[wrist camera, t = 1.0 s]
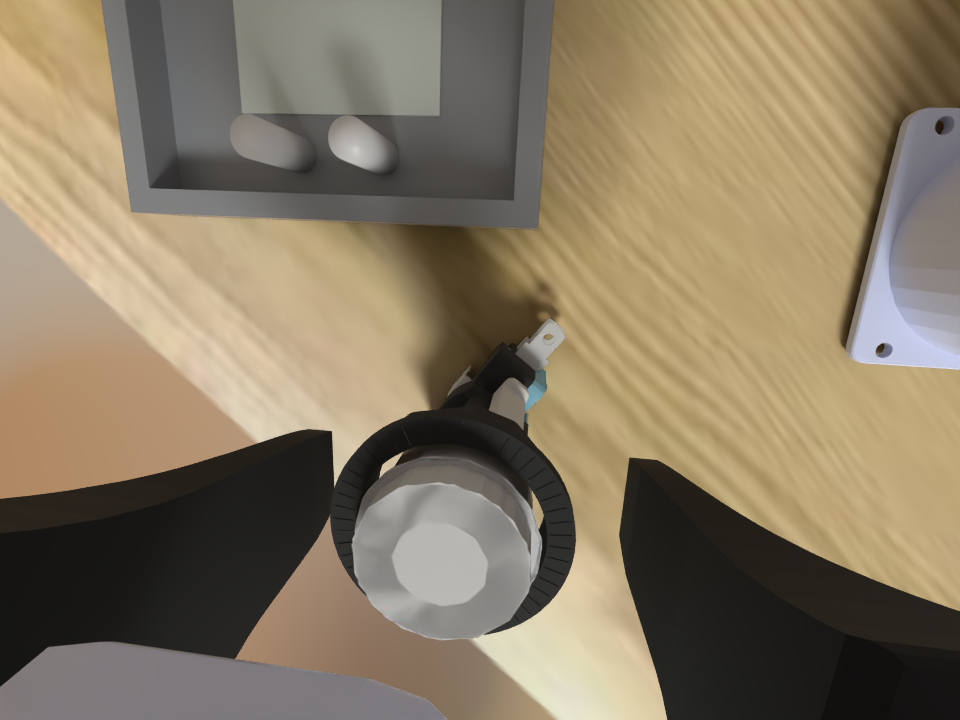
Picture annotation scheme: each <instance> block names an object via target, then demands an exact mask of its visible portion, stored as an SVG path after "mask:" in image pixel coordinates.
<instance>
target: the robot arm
mask: <svg viewBox="0 0 960 720" xmlns="http://www.w3.org/2000/svg"><path fill="white" fill-rule="evenodd" d="M938 120H941V121H942V123H943V124H944V129H943V131H942V132H941V134H937V132H936V131H935V125H936V123H937V121H938ZM882 343H883V344H884V350H883V351H882V352H881V353H880V354H878V355H876V348H877V346H879V345H880V344H882ZM846 353H847V355H848V357H850V358H851V359H852V360H855V361H857V362H861V363H870V364H885V365H900V366H915V367H930V368H945V369H960V108H925V109H921V110H918V111H915V112H913V113H912V114H910V115H908V116H907V117H906V118H905V120H904V121H903V122H902V125H901V127H900V130H899V134H898V138H897V142H896V146H895V151H894V155H893V159H892V163H891V167H890V171H889V175H888V179H887V183H886V187H885V191H884V195H883V199H882V203H881V207H880V211H879V215H878V219H877V223H876V227H875V231H874V235H873V239H872V243H871V247H870V251H869V255H868V259H867V263H866V267H865V272H864V276H863V280H862V284H861V288H860V292H859V296H858V300H857V304H856V308H855V312H854V316H853V320H852V324H851V328H850V332H849V336H848V340H847V344H846ZM333 492H334V470H333V446H332V431H324V430H312V429H307V430H301V431H296V432H292V433H289V434H285V435H282V436H279V437H276V438H273V439H270V440H267V441H264V442H261V443H258V444H255V445H252V446H249V447H246V448H243V449H240V450H237V451H234V452H231V453H228V454H224V455H221V456H218V457H214V458H211V459H208V460H204V461H201V462H198V463H195V464H191V465H188V466H184V467H181V468H177V469H173V470H169V471H165V472H162V473H157V474H153V475H149V476H144V477H140V478H135V479H131V480H126V481H121V482H115V483H109V484H104V485H98V486H92V487H86V488H80V489H75V490H70V491H63V492H55V493H47V494H40V495H32V496H23V497H14V498H4V499H0V720H448V719H447V718H446V717H444V715H443V714H442V713H440V712H439V711H438V710H437V709H436V708H435V707H434V706H433V705H432V704H431V703H430V702H429V701H428V700H427V699H425V698H422V697H419V696H417V695H414V694H411V693H408V692H405V691H403V690H400V689H397V688H394V687H392V686H389V685H386V684H383V683H381V682H378V681H375V680H372V679H369V678H362V677H355V676H348V675H341V674H333V673H327V672H320V671H314V670H306V669H299V668H292V667H286V666H279V665H271V664H265V663H258V662H251V661H244V660H237V659H235V658H236V657H237V655H238V653H239V651H240V650H241V648H242V646H243V645H244V643H245V641H246V639H247V638H248V636H249V635H250V633H251V632H252V630H253V629H254V627H255V626H256V624H257V623H258V621H259V619H260V618H261V617H262V615H263V614H264V612H265V611H266V610H267V608H268V607H269V606H270V604H271V603H272V601H273V600H274V599H275V597H276V596H277V594H278V593H279V592H280V590H281V589H282V588H283V586H284V585H285V584H286V582H287V581H288V579H289V578H290V577H291V575H292V574H293V573H294V571H295V570H296V568H297V567H298V566H299V564H300V563H301V561H302V560H303V559H304V557H305V555H306V554H307V553H308V552H309V550H310V549H311V547H312V546H313V544H314V543H315V542H316V540H317V539H318V537H319V535H320V533H321V531H322V529H323V528H324V526H325V524H326V522H327V520H328V518H329V516H330V510H331V502H332V496H333ZM619 537H620V543H621V550H622V556H623V562H624V567H625V573H626V577H627V580H628V583H629V587H630V590H631V593H632V596H633V600H634V603H635V606H636V609H637V613H638V616H639V619H640V622H641V625H642V628H643V632H644V635H645V638H646V641H647V644H648V647H649V651H650V654H651V657H652V660H653V663H654V666H655V670H656V673H657V677H658V681H659V684H660V688H661V692H662V696H663V701H664V706H665V710H666V715H667V720H960V611H957V610H954V609H951V608H948V607H946V606H943V605H940V604H937V603H934V602H931V601H928V600H926V599H923V598H920V597H917V596H914V595H911V594H909V593H906V592H903V591H901V590H898V589H896V588H893V587H890V586H888V585H885V584H883V583H880V582H877V581H875V580H873V579H870V578H868V577H866V576H863V575H861V574H858V573H856V572H854V571H851V570H849V569H847V568H844V567H842V566H840V565H837V564H835V563H833V562H830V561H828V560H826V559H824V558H822V557H820V556H817V555H815V554H813V553H811V552H809V551H807V550H805V549H803V548H801V547H799V546H797V545H795V544H793V543H791V542H789V541H787V540H785V539H783V538H781V537H780V536H778V535H776V534H774V533H772V532H770V531H768V530H767V529H765V528H763V527H761V526H760V525H758V524H756V523H755V522H753V521H751V520H750V519H748V518H746V517H745V516H743V515H741V514H740V513H738V512H736V511H735V510H733V509H731V508H730V507H728V506H727V505H725V504H724V503H722V502H720V501H719V500H717V499H716V498H714V497H713V496H711V495H710V494H708V493H707V492H705V491H704V490H702V489H701V488H700V487H698V486H697V485H695V484H694V483H692V482H691V481H689V480H688V479H686V478H685V477H684V476H682V475H681V474H679V473H678V472H676V471H675V470H673V469H672V468H670V467H669V466H667V465H665V464H664V463H662V462H660V461H658V460H651V459H639V458H629V466H628V473H627V481H626V488H625V495H624V503H623V510H622V518H621V525H620V533H619Z"/></svg>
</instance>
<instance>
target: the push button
mask: <svg viewBox="0 0 960 720" xmlns="http://www.w3.org/2000/svg"><path fill="white" fill-rule="evenodd" d="M546 334H552V335H553V337H552V338H551V339H545V338H544V335H546ZM564 339H565V334H564V329H562V328H561V327H560V326H559V325H558V324H557V323H555V322H554V321H553V320H552V319H547V320H546V321H545V322H544V323H543V325H542V326H541V327H540V328H539V329H538V330H537V331H536V332H535V333H534V335H533V336H532V337H531V338H530V339H529V338H528V337H527V336H526V338H525V339H524V340H523V341H522V342H521V343H520V344H519V345H518V346H515V345H514V344H513V343H511V344H510V345H509V346H507V345H506V344H505V343H504V342H502V343H501V344H500V345H499V346H498V347H497V348H496V349H495V351H494V352H493V353H492V354H491V355H490V357H489V358H488V359H487V361H486V362H485V364H484V365H483V366H482V368H481V369H480V371H479V372H478V373H477V375H476V376H475V377H474V378H473V379H470V378H469V377H468V376H467V374H468V373H469V371H470V369H471V367H472V366H469V367H468V368H467V369H466V370H465V372H464V373H463V374H462V375H461V376H460V377H459V378H458V380H457V381H456V382H455V383H454V385H453V386H452V388H451V389H450V391H449V393H448V395H447V398H446V400H445V401H444V403H443V405H442V406H441V408H440V409H439V410H429V411H419V412H413V413H410V414H409V415H407V416H406V417H405V418H402V419H400V420H397V421H395V422H393V423H391V424H389V425H387V426H385V427H383V428H382V429H380V430H379V431H377V432H376V433H374V434H373V435H372V436H371V437H369V438H368V439H367V440H366V441H365V442H364V443H363V444H362V445H361V446H360V447H359V448H358V450H357V451H356V452H355V453H354V454H353V455H352V456H351V458H350V459H349V461H348V462H347V463H346V465H345V466H344V468H343V470H342V472H341V474H340V475H339V477H338V480H337V483H336V485H335V488H334V492H333V496H332V502H331V510H330V519H331V520H330V522H331V531H332V536H333V540H334V544H335V547H336V550H337V553H338V556H339V558H340V560H341V562H342V564H343V566H344V568H345V569H346V571H347V573H348V575H349V576H350V577H351V579H352V580H353V581H354V583H355V584H356V585H357V587H358V588H359V589H360V590H361V591H362V592H363V593H364V594H365V595H366V596H367V597H368V598H369V600H370V602H371V603H372V605H373V606H374V607H375V608H377V609H378V610H379V611H380V612H382V614H383V615H384V616H385V617H386V618H387V619H389V620H391V621H393V622H395V623H396V624H397V625H399V626H400V627H401V628H402V629H405V630H408V631H412V632H415V633H418V634H420V635H422V636H424V637H426V638H435V639H438V640H450V639H473V638H478V637H480V636H482V635H487V634H492V633H496V632H500V631H503V630H506V629H509V628H512V627H514V626H516V625H519V624H521V623H523V622H525V621H526V620H528V619H530V618H531V617H533V616H534V615H536V614H537V613H538V612H540V611H541V610H542V609H543V608H544V607H545V606H546V605H548V604H549V603H550V601H551V600H552V599H553V598H554V597H555V596H556V595H557V593H558V592H559V590H560V589H561V587H562V586H563V584H564V582H565V580H566V578H567V576H568V574H569V571H570V568H571V565H572V562H573V558H574V553H575V543H576V532H575V522H574V515H573V508H572V504H571V501H570V497H569V494H568V492H567V489H566V487H565V484H564V482H563V481H562V479H561V477H560V475H559V473H558V472H557V470H556V469H555V467H554V466H553V465H552V463H551V462H550V461H549V460H548V458H547V457H546V456H545V455H544V454H543V453H542V452H541V451H540V450H539V449H538V448H537V447H536V446H535V445H534V443H533V442H532V441H531V440H530V438H529V437H528V427H529V425H528V413H525V412H526V411H527V410H528V409H529V408H530V407H531V406H532V405H533V404H535V403H536V402H537V401H538V400H539V399H540V398H541V397H542V396H543V394H544V393H545V391H546V390H547V384H546V371H545V370H544V369H543V368H544V366H545V365H546V364H547V363H548V362H549V361H548V360H547V359H546V358H547V357H548V356H549V355H550V354H551V353H552V352H553V351H554V349H555V348H556V347H557V346H558V345H559V344H560V343H561V342H562V341H563V340H564ZM402 452H403V454H402V455H401V457H400V459H399V460H398V462H397V463H396V465H395V466H394V467H393V468H391V469H390V470H388V471H387V472H385V473H384V474H383V475H382V476H381V477H380V478H379V476H380V471H381V468H382V464H384V463H385V462H386V461H388V460H389V459H391V458H392V457H394V456H396V455H398V454H400V453H402ZM532 491H533V493H534V494H535V496H536V498H537V499H538V502H539V504H540V506H541V508H542V511H543V514H544V518H543V521H542V524H541V526H540V529H538V525H537V522H536V519H535V516H534V513H533V498H532Z"/></svg>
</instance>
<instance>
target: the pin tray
mask: <svg viewBox="0 0 960 720" xmlns="http://www.w3.org/2000/svg"><path fill="white" fill-rule="evenodd" d="M101 2H102V9H103V16H104V23H105V30H106V37H107V44H108V51H109V58H110V65H111V72H112V79H113V86H114V93H115V100H116V107H117V114H118V121H119V128H120V135H121V142H122V149H123V156H124V163H125V170H126V177H127V184H128V191H129V199H130V206H131V212H137V213H151V214H165V215H179V216H202V217H227V218H252V219H277V220H302V221H327V222H352V223H376V224H401V225H426V226H451V227H476V228H501V229H526V230H538V220H539V205H540V191H541V177H542V163H543V148H544V134H545V120H546V106H547V92H548V77H549V63H550V49H551V35H552V20H553V6H554V0H101Z"/></svg>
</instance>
